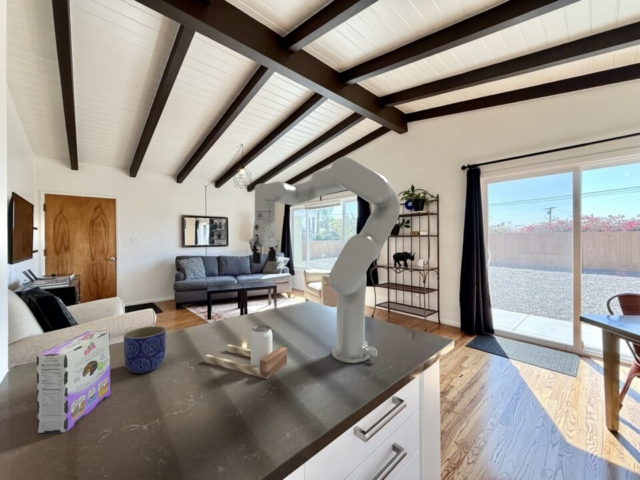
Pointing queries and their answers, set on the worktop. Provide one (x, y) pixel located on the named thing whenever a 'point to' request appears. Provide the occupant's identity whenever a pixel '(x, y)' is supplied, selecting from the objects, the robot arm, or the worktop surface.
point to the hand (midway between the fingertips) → (264, 262)
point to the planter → (144, 348)
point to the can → (260, 344)
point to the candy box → (72, 380)
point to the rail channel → (266, 369)
